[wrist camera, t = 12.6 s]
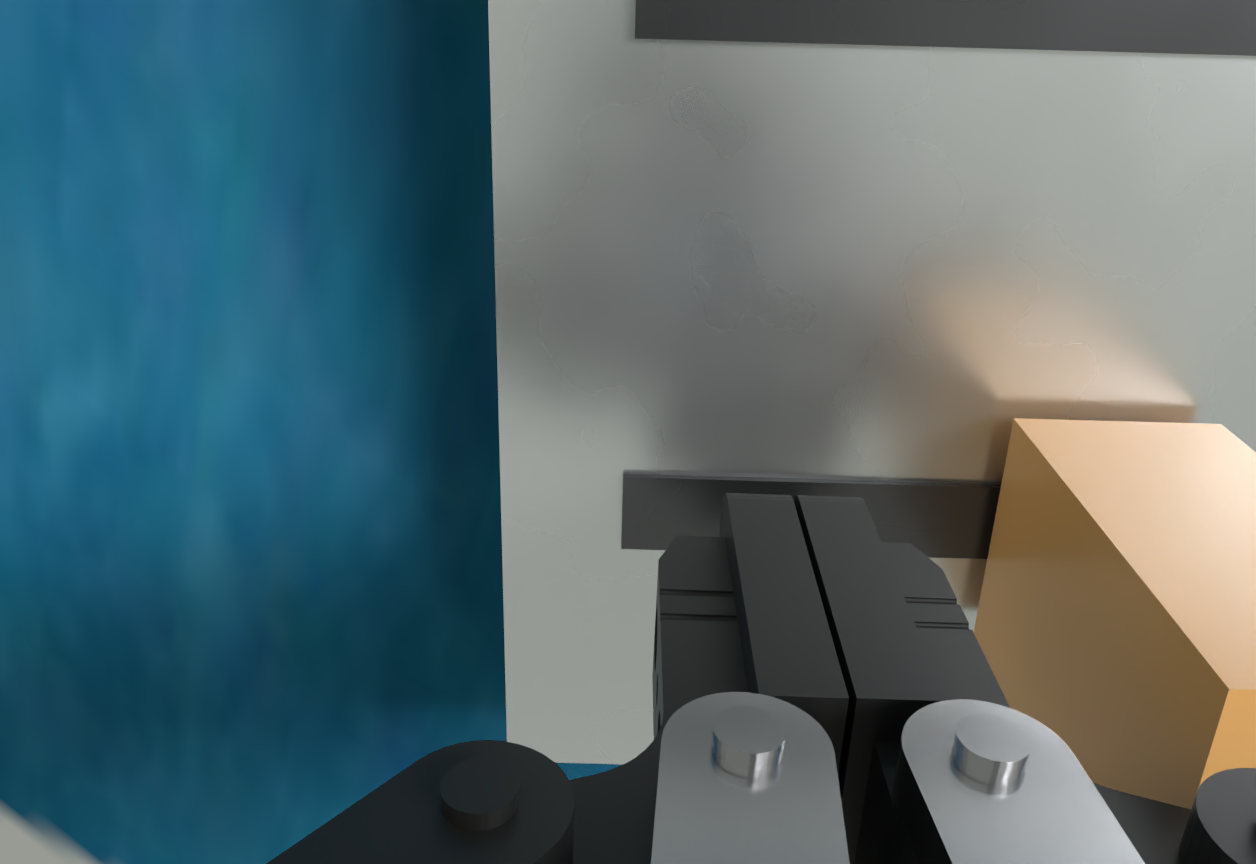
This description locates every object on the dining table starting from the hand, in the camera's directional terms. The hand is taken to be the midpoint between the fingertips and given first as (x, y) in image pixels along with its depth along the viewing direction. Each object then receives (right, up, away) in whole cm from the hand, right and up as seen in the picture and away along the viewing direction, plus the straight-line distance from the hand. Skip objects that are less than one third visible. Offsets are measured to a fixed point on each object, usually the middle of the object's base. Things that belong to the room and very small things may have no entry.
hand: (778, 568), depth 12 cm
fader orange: (+4, 0, +1) cm, 4 cm away
